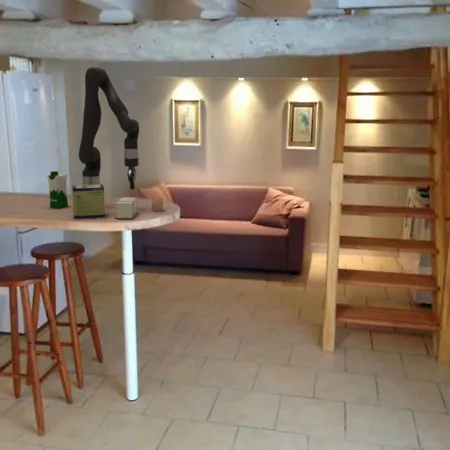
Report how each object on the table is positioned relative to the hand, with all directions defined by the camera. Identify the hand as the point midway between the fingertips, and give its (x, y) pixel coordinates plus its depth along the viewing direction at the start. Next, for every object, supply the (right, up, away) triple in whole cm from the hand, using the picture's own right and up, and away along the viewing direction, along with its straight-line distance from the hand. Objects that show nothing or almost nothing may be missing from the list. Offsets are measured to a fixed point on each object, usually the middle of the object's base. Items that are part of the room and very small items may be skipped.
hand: (132, 189), depth 289 cm
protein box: (-19, -15, -17) cm, 29 cm away
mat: (0, -15, -16) cm, 22 cm away
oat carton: (0, -9, -9) cm, 12 cm away
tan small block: (+14, -12, -2) cm, 19 cm away
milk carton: (-42, -10, +7) cm, 44 cm away
